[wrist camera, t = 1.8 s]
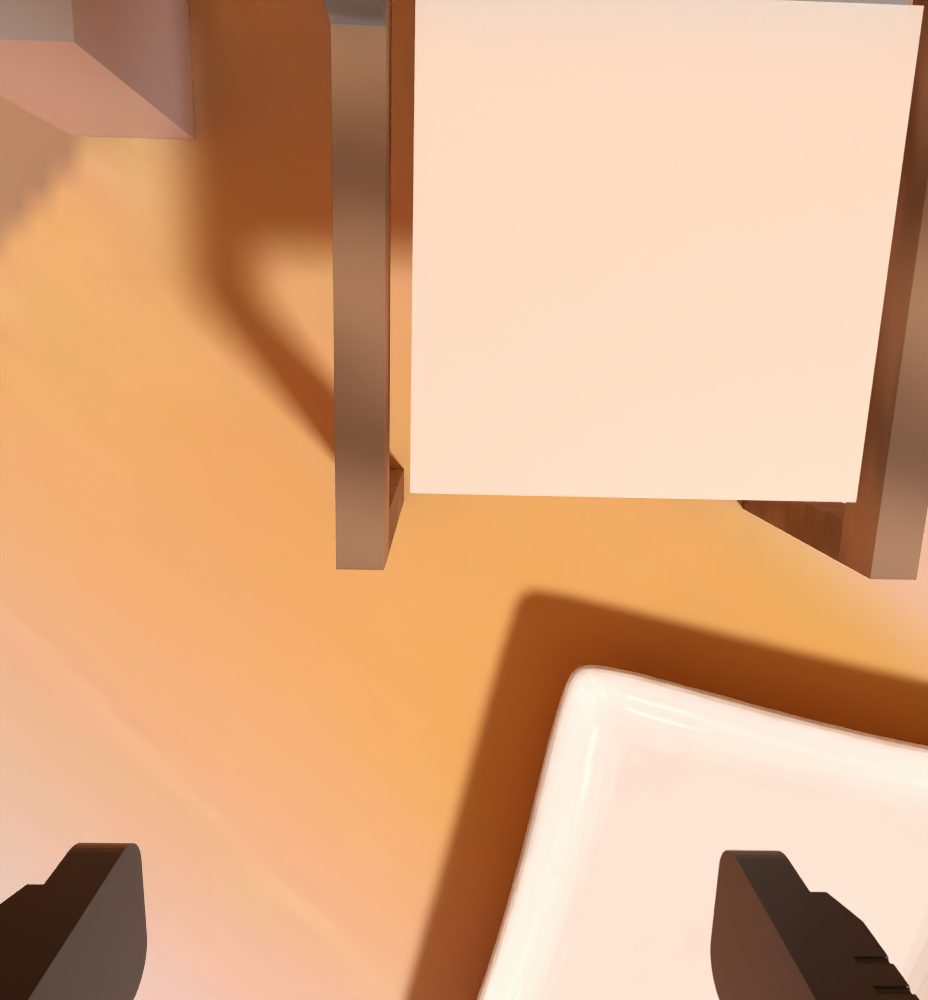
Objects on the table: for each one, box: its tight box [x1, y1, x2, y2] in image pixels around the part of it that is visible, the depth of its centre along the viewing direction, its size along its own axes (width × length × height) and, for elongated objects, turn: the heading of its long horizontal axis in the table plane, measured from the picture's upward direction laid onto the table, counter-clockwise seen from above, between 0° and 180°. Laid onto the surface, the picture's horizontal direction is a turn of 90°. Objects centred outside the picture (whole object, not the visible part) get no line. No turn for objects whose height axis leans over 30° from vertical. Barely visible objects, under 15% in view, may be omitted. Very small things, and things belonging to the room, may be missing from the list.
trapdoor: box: [410, 0, 924, 502], centre depth 22 cm, size 20×14×4 cm
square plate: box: [476, 665, 928, 1000], centre depth 37 cm, size 27×27×4 cm
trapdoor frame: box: [323, 0, 928, 580], centre depth 26 cm, size 24×19×12 cm
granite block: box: [0, 0, 195, 140], centre depth 25 cm, size 5×5×10 cm
